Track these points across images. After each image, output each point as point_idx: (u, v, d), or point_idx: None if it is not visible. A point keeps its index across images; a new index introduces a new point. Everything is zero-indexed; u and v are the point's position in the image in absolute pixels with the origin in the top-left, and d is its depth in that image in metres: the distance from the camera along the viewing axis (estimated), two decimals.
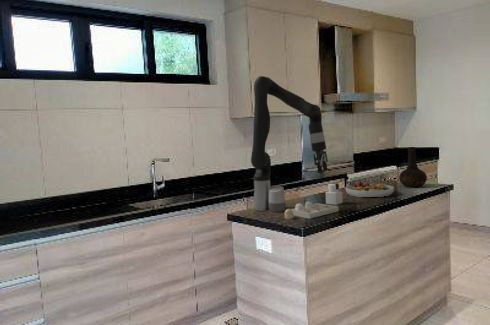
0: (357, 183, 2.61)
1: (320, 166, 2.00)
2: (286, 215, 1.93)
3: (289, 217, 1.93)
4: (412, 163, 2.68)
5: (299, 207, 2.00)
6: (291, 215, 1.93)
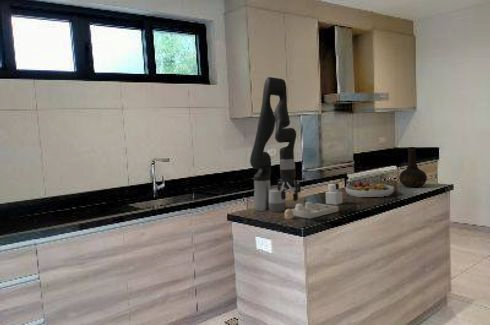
0: (357, 183, 2.61)
1: None
2: (286, 215, 1.93)
3: (289, 217, 1.93)
4: (412, 163, 2.68)
5: (299, 207, 2.00)
6: (291, 215, 1.93)
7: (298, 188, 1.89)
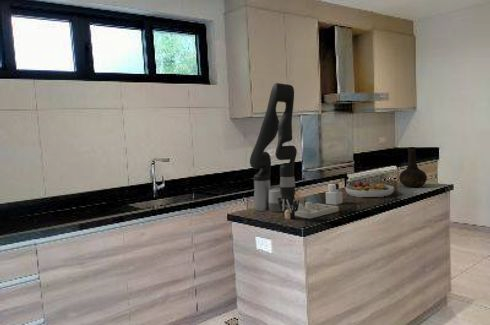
0: (357, 183, 2.61)
1: None
2: (286, 215, 1.93)
3: (289, 217, 1.93)
4: (412, 163, 2.68)
5: (299, 207, 2.00)
6: None
7: (296, 207, 1.91)
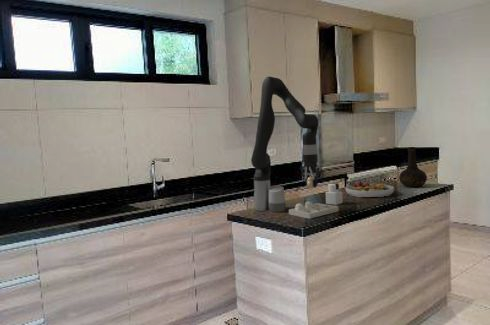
0: (357, 183, 2.61)
1: (306, 179, 2.01)
2: (309, 182, 1.98)
3: (312, 184, 1.97)
4: (412, 163, 2.68)
5: (299, 207, 2.00)
6: None
7: (318, 174, 1.95)
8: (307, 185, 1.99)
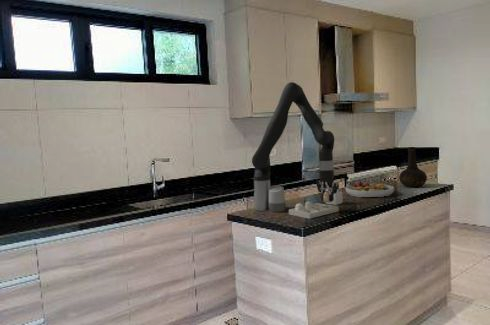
0: (357, 183, 2.61)
1: (322, 194, 2.07)
2: (325, 197, 2.03)
3: (328, 199, 2.03)
4: (412, 163, 2.68)
5: (299, 207, 2.00)
6: None
7: None
8: (323, 200, 2.05)
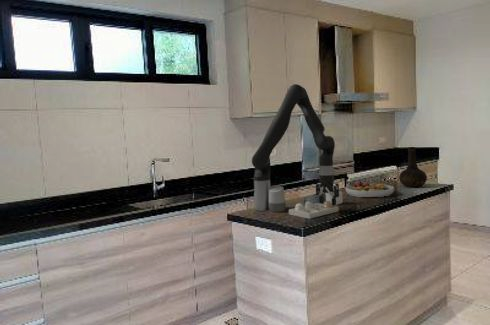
0: (357, 183, 2.61)
1: (320, 197, 2.08)
2: (325, 207, 2.04)
3: None
4: (412, 163, 2.68)
5: (299, 207, 2.00)
6: (330, 207, 2.03)
7: None
8: None
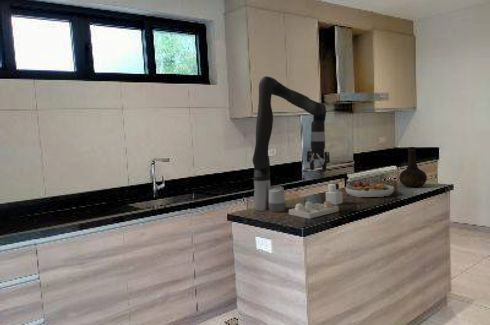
0: (357, 183, 2.61)
1: None
2: (325, 207, 2.04)
3: None
4: (412, 163, 2.68)
5: (299, 207, 2.00)
6: (330, 207, 2.03)
7: (327, 159, 2.01)
8: None
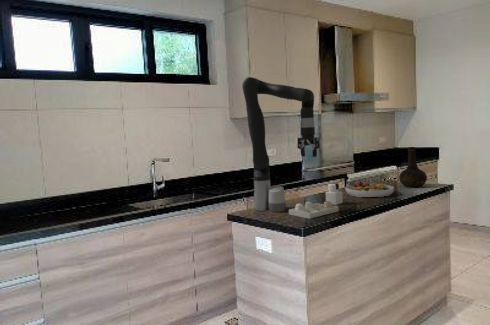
0: (357, 183, 2.61)
1: None
2: (325, 207, 2.04)
3: None
4: (412, 163, 2.68)
5: (299, 207, 2.00)
6: (330, 207, 2.03)
7: (317, 145, 2.04)
8: None
